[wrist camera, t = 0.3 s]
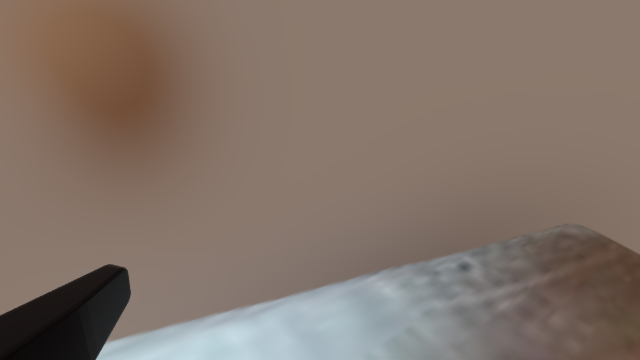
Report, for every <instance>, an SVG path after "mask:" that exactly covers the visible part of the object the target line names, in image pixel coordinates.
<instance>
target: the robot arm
mask: <svg viewBox="0 0 640 360" xmlns="http://www.w3.org/2000/svg"><path fill="white" fill-rule="evenodd" d="M130 295H131V291H130V283H129V275H128V270H127V269H126V268H125V267H121V266H117V265H112V264H108V265H105V266H103V267H101V268H99V269H97V270H94V271H93V272H90V273H88V274H86V275H84V276H82V277H80V278H78V279H76V280H74V281H71V282H69V283H67V284H65V285H63V286H61V287H59V288H57V289H55V290H53V291H51V292H48V293H46V294H44V295H42V296H40V297H38V298H36V299H34V300H32V301H30V302H28V303H26V304H23V305H21V306H19V307H17V308H15V309H13V310H11V311H9V312H7V313H5V314H2V315H0V360H96V358H97V356H98V355H99V353H100V351H101V350H102V348H103V346H104V344H105V342H106V341H107V339H108V337H109V335H110V334H111V332H112V330H113V328H114V327H115V325H116V323H117V321H118V320H119V318H120V316H121V314H122V312H123V311H124V309H125V307H126V305H127V304H128V302H129V299H130Z"/></svg>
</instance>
